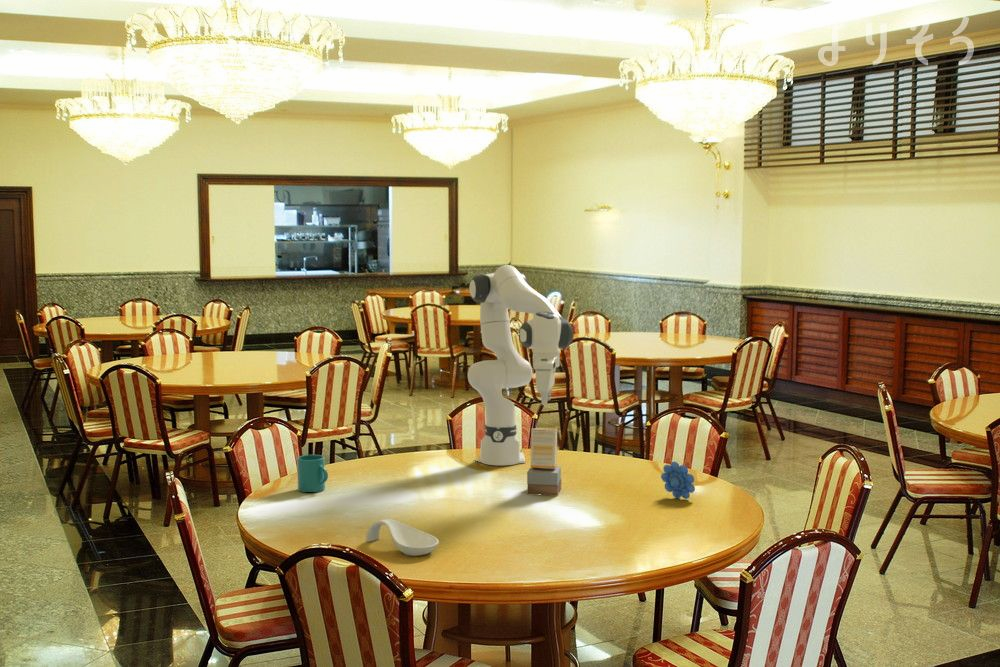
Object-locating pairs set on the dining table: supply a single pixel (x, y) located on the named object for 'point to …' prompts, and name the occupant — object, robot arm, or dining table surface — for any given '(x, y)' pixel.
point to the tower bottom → (544, 489)
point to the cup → (311, 473)
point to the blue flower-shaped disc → (678, 480)
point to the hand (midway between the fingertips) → (546, 402)
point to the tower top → (544, 476)
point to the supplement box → (543, 448)
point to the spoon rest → (404, 537)
